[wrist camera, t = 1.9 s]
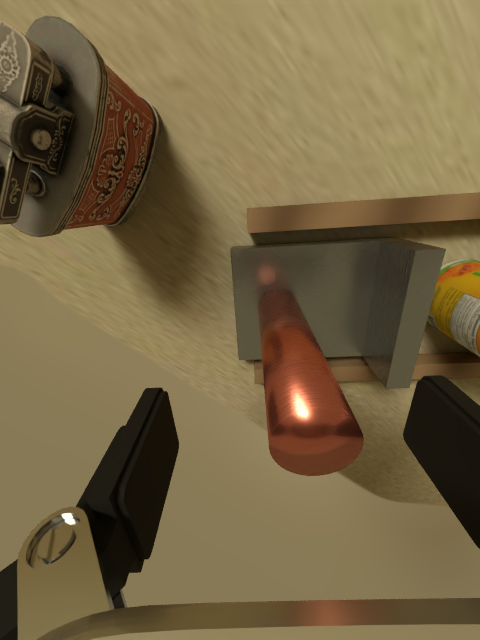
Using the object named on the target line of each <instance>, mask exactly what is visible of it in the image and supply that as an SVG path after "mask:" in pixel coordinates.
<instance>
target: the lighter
mask: <svg viewBox="0 0 480 640" xmlns="http://www.w3.org/2000/svg"><path fill="white" fill-rule="evenodd" d="M162 127H163V124H162V121H161V117H160V115H159V113H158V112H157V110H156V109H155V108H154V107H153V106H152V105H151V104H150V103H149V102H148V101H147V100H146V99H145V98H144V97H142V96H140V95H138V94H136V93H135V92H134V91H133V90H132V89H131V88H130V87H129V86H128V85H127V84H125V83H124V82H123V81H122V80H121V79H120V78H119V77H118V76H117V75H116V74H115V73H114V72H113V71H112V70H111V69H110V68H109V67H108V66H107V65H106V64H105V62H104V60H103V59H102V57H101V55H100V54H99V52H98V50H97V49H96V47H95V46H94V45H93V44H92V43H91V42H90V41H89V40H88V39H87V38H86V37H85V36H84V35H83V34H82V33H81V32H80V31H79V30H78V29H77V28H76V27H75V26H73V25H72V24H71V23H69V22H67V21H65V20H63V19H61V18H60V17H54V16H44V17H41V18H39V19H36V20H35V21H34V22H33V23H32V25H31V26H30V27H29V29H28V31H27V34H26V36H25V35H23V34H22V33H21V32H19V31H18V30H17V29H15V28H14V27H12V26H11V25H10V24H8V23H6V22H4V21H2V20H0V224H11V225H12V226H13V227H15V228H16V229H18V230H19V231H20V232H22V233H25V234H27V235H30V236H34V237H45V236H52V235H55V234H59V233H61V232H62V231H63V230H65V229H73V228H80V227H88V226H95V225H105V226H116V225H120V224H123V223H124V222H125V221H126V220H127V219H128V217H129V216H130V214H131V213H132V211H133V210H134V209H135V207H136V206H137V204H138V202H139V201H140V199H141V197H142V195H143V193H144V191H145V189H146V187H147V185H148V183H149V180H150V177H151V174H152V171H153V168H154V165H155V162H156V159H157V155H158V150H159V145H160V141H161V136H162Z"/></svg>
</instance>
